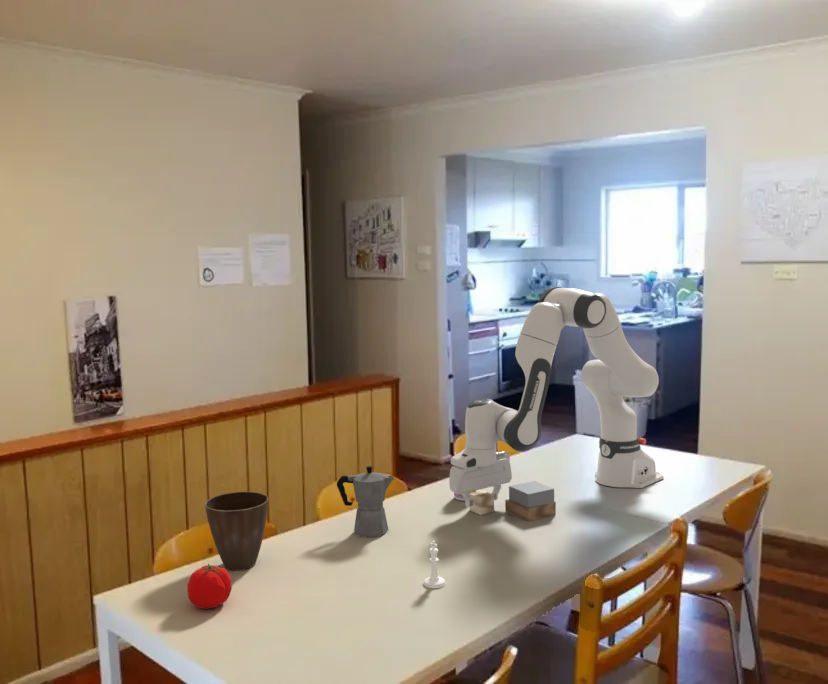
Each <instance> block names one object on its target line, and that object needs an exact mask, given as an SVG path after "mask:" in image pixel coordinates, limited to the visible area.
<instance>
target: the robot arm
mask: <svg viewBox="0 0 828 684" xmlns="http://www.w3.org/2000/svg"><path fill="white" fill-rule="evenodd" d="M566 326H567V327H576V328H581V329H582V330H583V333H584V336H585V338H586V342H587V344H588V345H587V346H588V348H589V351H590V352H591V354H592V356H593V357H594V358H595V359H591V360H588V361H586V362H585V363H584V365H583V367H582V368H581V371H580V372H581V373H580V379H581V382H582V384H583V386H584V387H585V388H586V389H587V390H588V392H590V394H591V395H592V396H593V398H594V401H595V403H596V405H597V408H598V412H599V418H600V421H599V422H600V437H599V441H598V447H599V453H598V458H597V469H596V472H595V482H596V483H598V484H600V485H603V486H606V487H607V486H608V487H611V488H632V489H643V488H646V487H647V486H650V485H651V484H655V483H657V482H658V481H661V480H663V479H664V475H663V474H662V473H660V472H658V471H657V470H656V462H655V459H654V458H653V457H651V456H650V455H649V454H647V452H645V451H644V450H643V449H642V447H641V445H643V446H644V445H646V443H647V439H646V438H643V437H639V438H638V437H637V434H638V432H637V431H638V429H637V428H638V427H637V426H638V424H637V422H638V420H637V419H638V417H637V414H636V412H635V411H634V409H633V408H631V407H630V406H628V404H627V403H626V401H625V400H624V397H629V398H634V399H635V398H648V397H651V396H652V395H654V394H655V392H656V391H657V389H658V387H659V382H660V380H659V379H660V378H659V377H660V376H659V374H658V372H657V369H656V368H655V367H654V366H653V365H650V364H649V363H647V362H646V361H644V360H643V359H642V358H641V357H640V356H639V355H638V354H637V353H636V352H635V351H634V350H633V348H632V347H631V346H630V344H629V343H628V341H627V338H626V336H625V332H624V331H623V327H622V324H621V322H620V318H619V315H618V313H617V311H616V309H615V306H614V304H613V303H612V301H611V300H610V298H609V297H608V296H607V295H606V294H604V293H601V292H592V291H586V290H583V289H579V288H574V287H571V288H570V287H561V286H551V287H548V288H546V289H545V290H544V291H543V292H542V294H541V295H540V296H539V299H538V302H537V303H534V305H533V306H532V308H531V309H530V310H529V313H528V315H527V316H526V318H525V321H524V323H523V325H522V327H521V330H520V333H519V335H518V336H519V337H518V339H517V342H516V345H515V354H514V355H515V358H516V362H517V363H518V365H519V367H521V369H522V371H523V374H524V377H525V378H524V379H525V384H524V389H523V393H522V396H521V400H520V404H519V408H518V410H517V409H514V408H511V407H507V406H504V405H501V404H499V403H497V402H496V401H494V400H493V399H491V398H488V397H487V398H478V399H475V400H472V401H471V402H469V403H468V405H467V406H466V408H465V409H466V410H465V419H464V420H465V421H464V432H465V435H466V440H465V448H464V449H462V450H461V451H460V452H458V453H456V454H454V455H453V456H452V457H451V458H450V464H451V465H452V466H451V468H450V471H449V481H448V484H449V485H448V486H449V489H450V491H451V492H452V493H453V494H454V493H456V494H462V496H463V497H464V499H465V501H464V505H465V506H466V507H469V508H470V506H473V500H471V499H470V498H469V496H468V495H470V492H471V491H475V490H476V491H480V490H484V489H487V488H493V489H492V492H490V493H491V494H494V501H497V500H498V498H499V497H498V495H499V493H500V490H501V489H502V485H505V484H509V483H510V482H511V481H512V479H513V476H512V475H513V474H512V467H511V463H510V460H511V458H510V454H509V453H508V452H507V451H500V452H498V453H496V443H497V444H498V442H503V443H505V444H506V445H508V446H509V447H510V448H511V449H513V450H514V451H516V452H528V451H530V450H532V449H533V448H534V447H536V445H537V444H538V442H539V441H540V440H541V435H542V415H543V409H544V405H545V401H546V398H547V393H548V389H549V386H550V380H551V374H552V364H553V360H554V355H555V352H556V350H557V347H558V343H559V340H560V338H561V332H562V330H563V329H564V328H565V327H566Z"/></svg>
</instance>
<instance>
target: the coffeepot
mask: <svg viewBox="0 0 828 684" xmlns="http://www.w3.org/2000/svg"><path fill="white" fill-rule="evenodd" d="M365 468H366V472H362V473H357V474H356V475H354V474H353V475H342V476H340V477H339V479H338V480H337V482H336V487H337V489H338V491H339V494H340V496H341V499H342V502H343V504H344V505H345V506H348V507H349V506H350V507H351V506H352V505H353V503H354V502H352V501H348V495H347V492H346V489H345V486H344V483H346V484H347V483H348V484H353V490H354V495H355V502H356V503H357V506H358V507H357V508H356V515H355V521H354V529H353V531H354V534H356V535H357V536H359V537H362V538H377V537H381V536H384V535H385V534H386V533H387V532H388V531H389V525H388V520H387V515H386V512H385V508H384V501H385V499H386V492H387V489H388V488H389V487H390V485H391V483H392V482H393V481H394V480H395V478H394V476H392V475H389V474H388V475H387V474H384V473H382V472H373V466H370V465H368V466H366V467H365Z"/></svg>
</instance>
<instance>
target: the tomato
mask: <svg viewBox="0 0 828 684" xmlns="http://www.w3.org/2000/svg"><path fill="white" fill-rule="evenodd" d="M232 587H233V585H232V578H231V575H230V573H229V572H228V569H227V568H224V567H220V566H217V565H214V564H213V565H212V564H209V563H207V565H202V566H201V568H197V569H196V570H195V571H193V573H191V575H190V577H189V579H188V582H187V597H188V600H189V602H190V603H191V604H192V605H194V607H196V608H200V609H212V608H217V607H219V606H221V605H222V604H224V603H225V602H227V600H229V599H228V598H230V596H231V592H232Z"/></svg>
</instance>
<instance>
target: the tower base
mask: <svg viewBox="0 0 828 684" xmlns="http://www.w3.org/2000/svg"><path fill="white" fill-rule="evenodd" d="M504 501H505V504H504V505H505V506H504V507H505V513H507V514H510V515H512V516H514V517H517V518H520V519H522V520H524V521H526V522H532V521H535V520H539V519H542V518H543V519H544V518H546V517H550V516H554V515H556V514H557V513H556V511H557V510H556V509H557V508H556V506H557V505H556V503H557V502H556V501H554V503H550V504H545V505H541V506H537V507H532V508H527V507H525V506H522V505H520V504H518V503H516V502H513V501H511V500H509V498H508V499H505V500H504Z"/></svg>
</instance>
